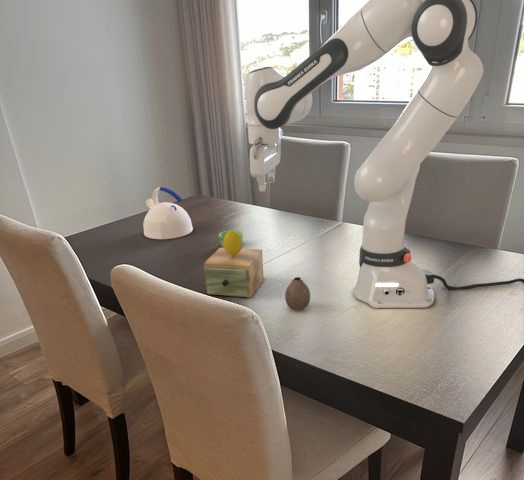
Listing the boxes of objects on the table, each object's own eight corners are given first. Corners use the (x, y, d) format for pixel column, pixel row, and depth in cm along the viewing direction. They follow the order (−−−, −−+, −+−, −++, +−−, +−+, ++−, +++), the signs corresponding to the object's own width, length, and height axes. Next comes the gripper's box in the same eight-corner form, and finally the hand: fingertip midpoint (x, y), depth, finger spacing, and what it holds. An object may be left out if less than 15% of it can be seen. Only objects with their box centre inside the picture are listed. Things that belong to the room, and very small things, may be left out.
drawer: (246, 297, 142) (244, 272, 137) (205, 294, 145) (202, 269, 141) (259, 279, 153) (258, 255, 149) (221, 276, 156) (219, 253, 152)
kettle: (168, 222, 215) (161, 179, 205) (203, 228, 204) (198, 184, 194) (133, 235, 201) (124, 190, 192) (168, 242, 190) (161, 195, 181)
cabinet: (250, 297, 144) (248, 266, 139) (207, 294, 147) (203, 263, 142) (263, 279, 155) (262, 249, 150) (222, 276, 159) (220, 247, 154)
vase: (303, 315, 132) (302, 285, 128) (281, 310, 136) (280, 281, 131) (314, 305, 137) (314, 276, 133) (293, 300, 141) (292, 272, 136)
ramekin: (245, 241, 188) (244, 229, 185) (241, 249, 180) (241, 237, 178) (222, 241, 189) (221, 230, 186) (217, 249, 181) (216, 238, 179)
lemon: (240, 259, 143) (238, 233, 139) (222, 259, 144) (219, 233, 140) (244, 253, 148) (243, 227, 144) (227, 252, 149) (224, 227, 145)
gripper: (265, 141, 125) (268, 195, 133) (283, 130, 142) (285, 179, 149) (242, 141, 127) (246, 195, 134) (262, 130, 144) (265, 179, 151)
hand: (267, 186), depth 142 cm, fingers open, 8 cm apart
